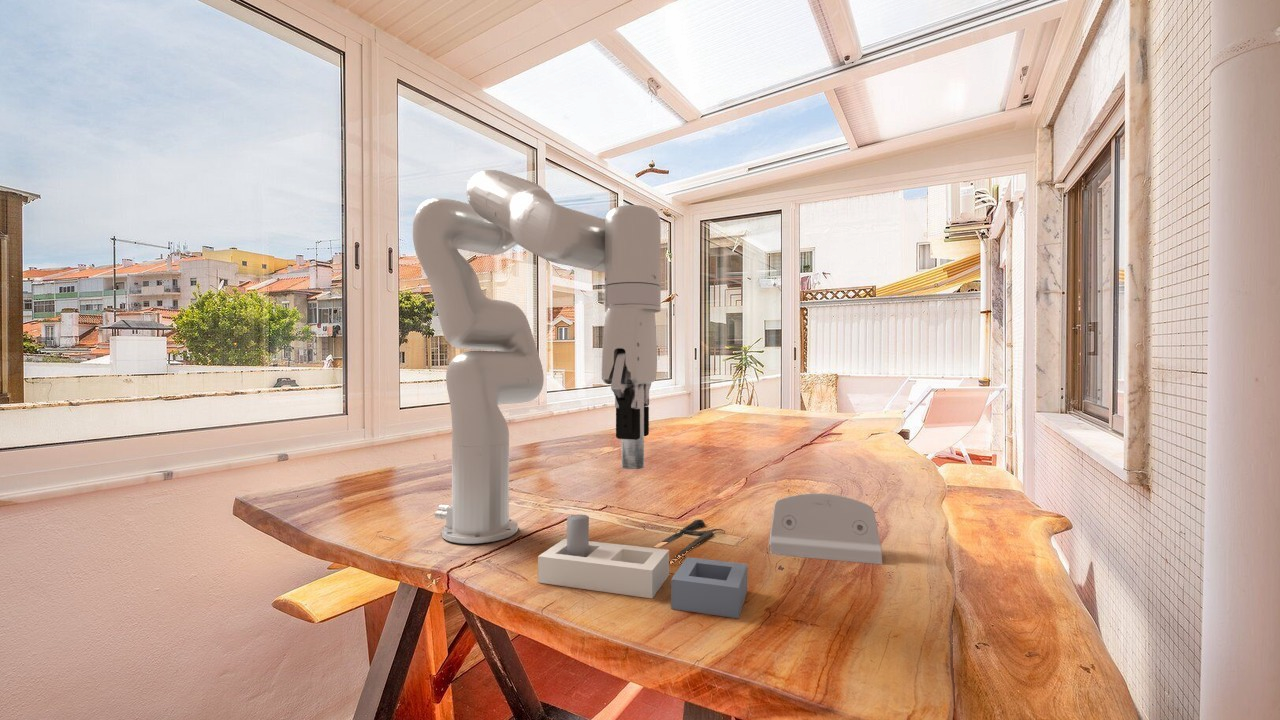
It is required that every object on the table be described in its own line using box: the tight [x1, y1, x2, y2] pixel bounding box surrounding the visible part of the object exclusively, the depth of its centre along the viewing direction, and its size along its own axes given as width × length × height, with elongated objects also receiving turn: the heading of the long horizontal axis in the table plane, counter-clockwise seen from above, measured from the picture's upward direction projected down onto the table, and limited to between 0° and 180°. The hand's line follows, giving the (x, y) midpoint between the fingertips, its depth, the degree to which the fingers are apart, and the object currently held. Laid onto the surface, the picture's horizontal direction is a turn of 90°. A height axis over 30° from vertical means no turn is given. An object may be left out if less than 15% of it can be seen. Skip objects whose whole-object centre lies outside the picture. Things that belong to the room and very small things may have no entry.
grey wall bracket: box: [768, 492, 883, 565], centre depth 86 cm, size 17×5×10 cm, turn 74°
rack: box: [537, 514, 670, 599], centre depth 74 cm, size 16×8×8 cm, turn 72°
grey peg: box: [621, 379, 645, 470], centre depth 73 cm, size 3×3×12 cm
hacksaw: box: [660, 519, 726, 576], centre depth 88 cm, size 24×10×2 cm, turn 147°
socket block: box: [670, 556, 748, 619], centre depth 68 cm, size 8×8×4 cm
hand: (632, 435), depth 73 cm, fingers closed on grey peg, 3 cm apart
